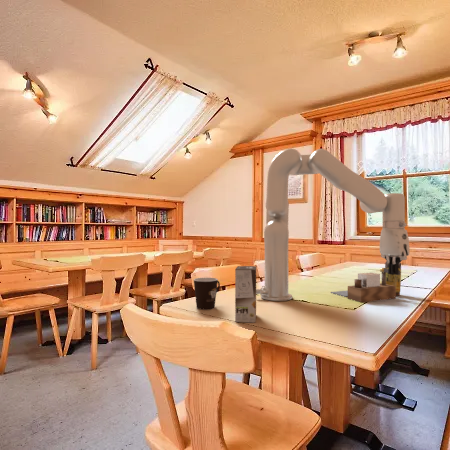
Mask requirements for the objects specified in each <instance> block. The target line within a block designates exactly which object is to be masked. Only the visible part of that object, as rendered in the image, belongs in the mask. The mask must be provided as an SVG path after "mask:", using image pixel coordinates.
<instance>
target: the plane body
mask: <svg viewBox="0 0 450 450" xmlns="http://www.w3.org/2000/svg"><path fill="white" fill-rule="evenodd" d="M347 290H348V297H347V299H348V300H351V299H352V301H354V300H355V302H358V301H359V302H358V303H368V302H376V301H385V300H393V299H396V297H397V296H396V286H393V285H388V284H386V272H381V282H380V287H372V288H365V287H362V280H361V279H358V278H356V279H354V285H347Z"/></svg>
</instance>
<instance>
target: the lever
mask: <svg viewBox="0 0 450 450" xmlns="http://www.w3.org/2000/svg"><path fill="white" fill-rule="evenodd" d="M379 272H381V273H382V272H386V273H388V268H385V267H379ZM398 275H401V276H402V270H401V271H399V274H398Z"/></svg>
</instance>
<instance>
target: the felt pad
mask: <svg viewBox="0 0 450 450" xmlns="http://www.w3.org/2000/svg"><path fill="white" fill-rule="evenodd" d="M332 293H333V295H336V294H337V296H340V295H341V296H340V297H343V296H344V298H348V289H347V290H338V291H330V294H332Z"/></svg>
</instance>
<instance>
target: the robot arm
mask: <svg viewBox="0 0 450 450" xmlns="http://www.w3.org/2000/svg"><path fill="white" fill-rule="evenodd" d="M317 174H320V176H322V177H323V178H324V179H326V180H327V181H328V182H329V183H330V184H331V185H332V186H333V187H335V188H336V189H338V190H340V191H344V192H347V193H348V194H349V195H351V196H353V197H355V198H356V199H357V200H358V201H359V207H360V209H361V211H363V212H365V213H368V214H375V213H376V214H377V213H382V229H381V231H380V235H379V236H380V237H379V253H380V257H381V258H382V259H385V262H386V261H387V263H388V274H391V275H398V274H399V264H400V263H401V262H402V261H405V260H408V256H409V255H410V240H409V235H408V230H407V229H406V228H405V227H407V225H408V224H407V223H406V221H405V220H406V219H405V218H406V215H405V213H406V210H405V209H406V207H405V204H406V200H405V199H406V198H405V195H404V194H402V193H400V192H399V193H398V192H395V193H383V191H381V189H379V188H378V187H377V186H375V185H374V184H373V183H372V182H371V181H369V180H367V179H366V178H365V177H363V176H361V175H360V174H358V173H357V172H355V171H353V170H352V169H351V168H349V167H348V166H347V165H345V164H344V163H343V162H342V161H340V160H339V159H338V158H337V157H336V156H335V155H333V154H332V153H331V152H330V151H328V150H327V149H324V148H318V149H315V150H314V151H313V152H312V153H311V154H301V153H300V152H299V150H297V149H294V148H287V149H284V150H282V151H280V152H279V153H278V154H276V155H275V157H274V158H273V159H272V160H271V162H270V164H269V166H268V171H267V180H266V198H265V199H266V200H265V209H266V211H265V212H266V216H265V217H266V218H265V220H266V221H265V224H266V225H265V228H264V229H263V230H264V232H263V234H264V235H263V236H264V237H263V239H264V240H263V241H264V242H263V243H264V285H262V287H261V288H260V289H259V288H256V295H260V298H261V299H263V300H266V301H272V302H283V301H285V302H286V301H291V300H292V299H293V294H291V293H289V237H290V235H289V234H290V231H289V213H290V211H289V210H290V209H289V208H290V207H289V206H290V205H289V198H288V197H289V195H288V194H289V177H290V175H291V176H297V175H299V176H301V175H317Z"/></svg>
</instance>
